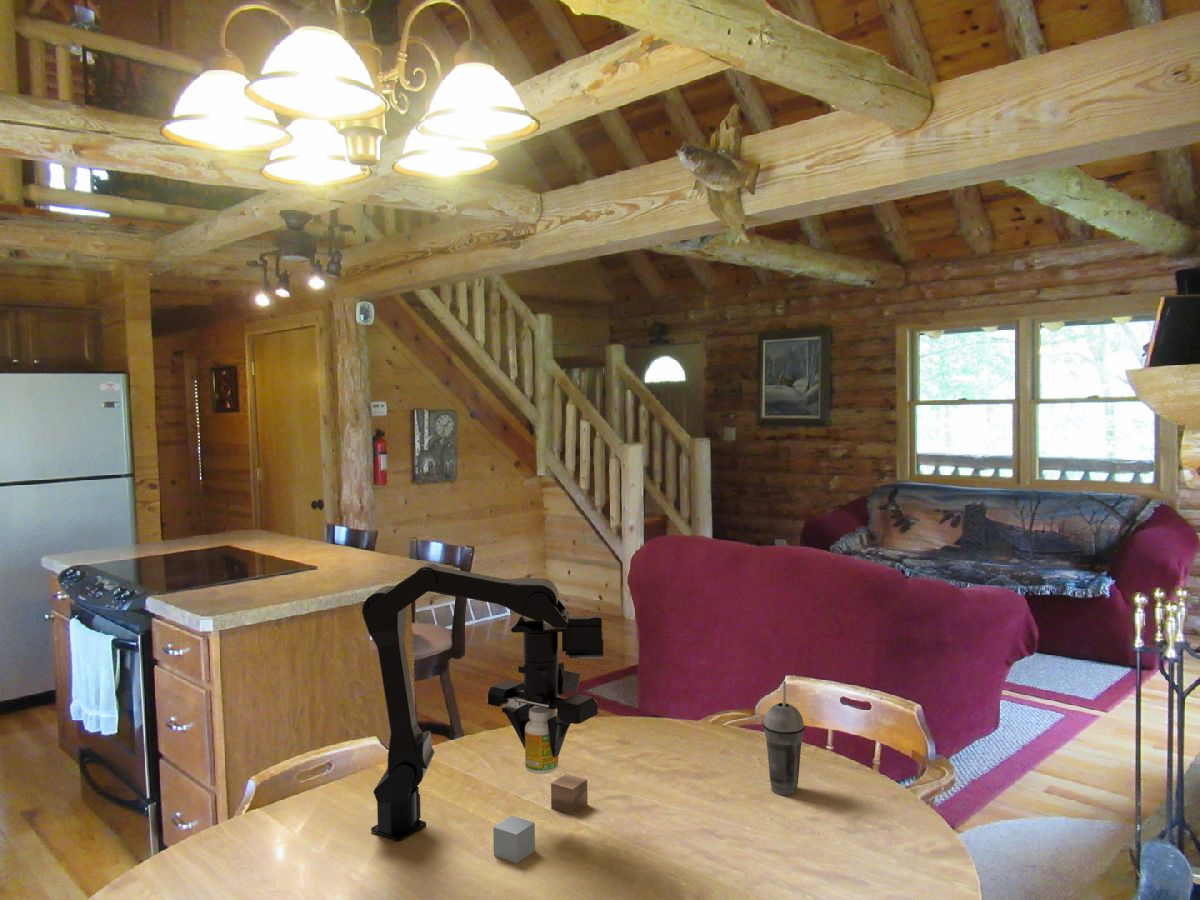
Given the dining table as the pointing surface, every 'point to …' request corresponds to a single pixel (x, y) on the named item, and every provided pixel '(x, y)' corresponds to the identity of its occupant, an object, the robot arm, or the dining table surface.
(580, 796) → the pinkish brown block
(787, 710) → the beverage cup
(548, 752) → the supplement bottle
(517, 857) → the slate block
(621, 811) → the dining table surface
